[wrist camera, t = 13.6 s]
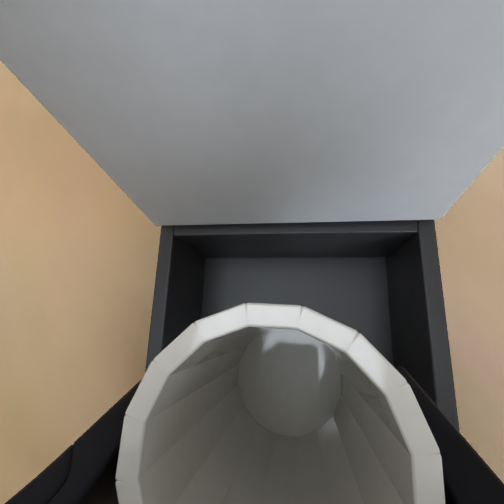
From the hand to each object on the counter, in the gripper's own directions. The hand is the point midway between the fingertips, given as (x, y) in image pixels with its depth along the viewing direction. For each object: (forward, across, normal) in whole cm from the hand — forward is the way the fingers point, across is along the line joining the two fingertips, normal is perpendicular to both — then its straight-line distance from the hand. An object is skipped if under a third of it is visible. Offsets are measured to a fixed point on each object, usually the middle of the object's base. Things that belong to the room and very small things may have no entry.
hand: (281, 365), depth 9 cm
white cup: (+4, 0, +6) cm, 7 cm away
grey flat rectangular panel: (+1, 0, -8) cm, 8 cm away
